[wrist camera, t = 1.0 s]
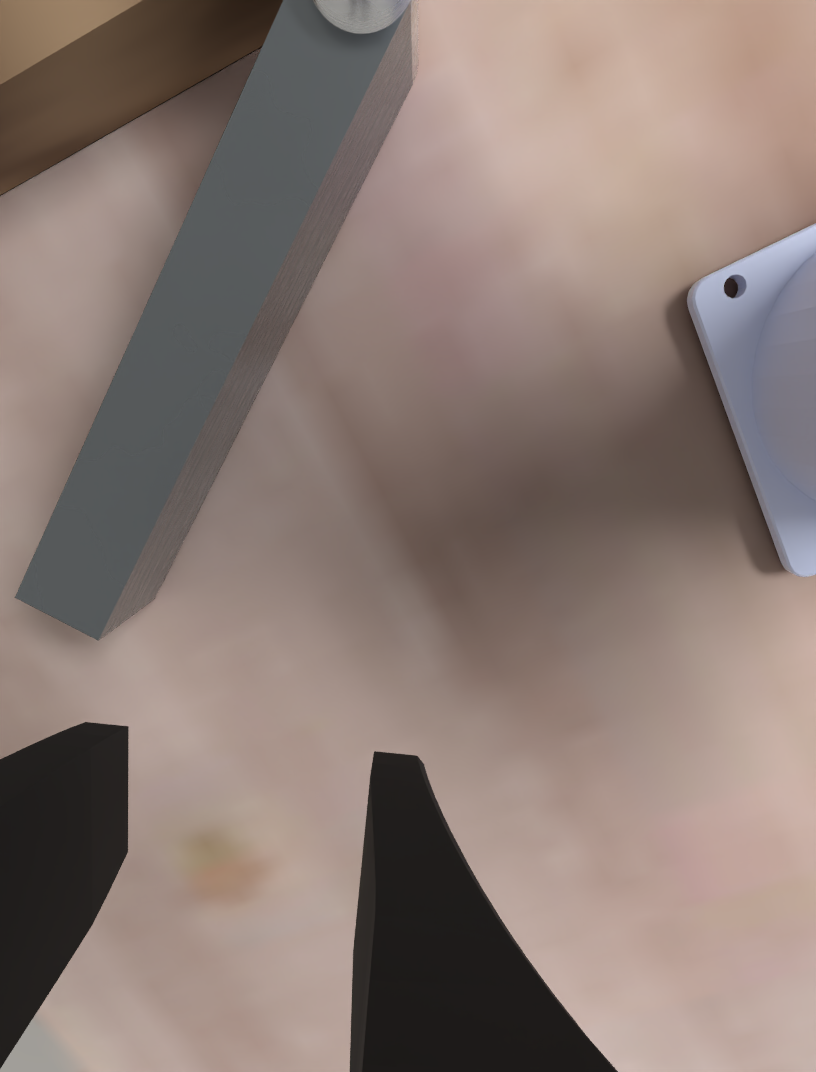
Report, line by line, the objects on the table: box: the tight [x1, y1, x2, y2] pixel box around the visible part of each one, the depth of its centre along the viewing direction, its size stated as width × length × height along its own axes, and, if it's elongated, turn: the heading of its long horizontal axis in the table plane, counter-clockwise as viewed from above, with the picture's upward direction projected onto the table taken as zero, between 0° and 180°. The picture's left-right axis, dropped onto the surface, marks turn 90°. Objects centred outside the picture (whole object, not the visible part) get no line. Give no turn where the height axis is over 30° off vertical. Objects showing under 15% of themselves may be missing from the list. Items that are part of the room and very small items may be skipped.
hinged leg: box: [15, 0, 418, 641], centre depth 14 cm, size 15×2×4 cm, turn 150°
